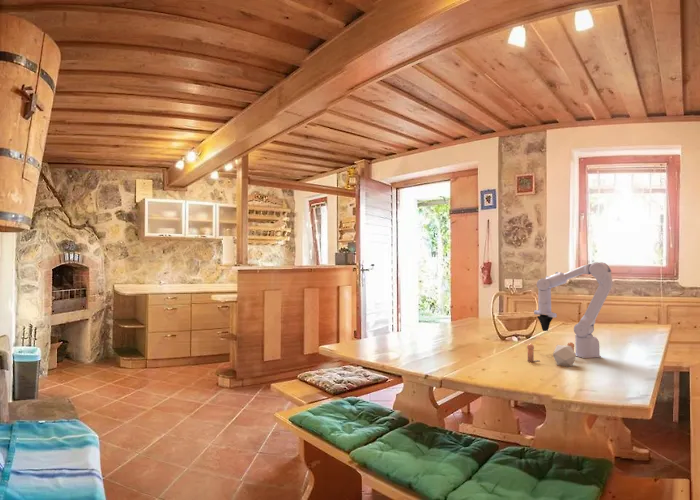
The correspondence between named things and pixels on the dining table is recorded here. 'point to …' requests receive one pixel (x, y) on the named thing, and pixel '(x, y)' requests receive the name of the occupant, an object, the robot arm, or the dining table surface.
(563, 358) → the die
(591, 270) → the robot arm
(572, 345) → the pair of orange pieces
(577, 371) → the dining table surface
